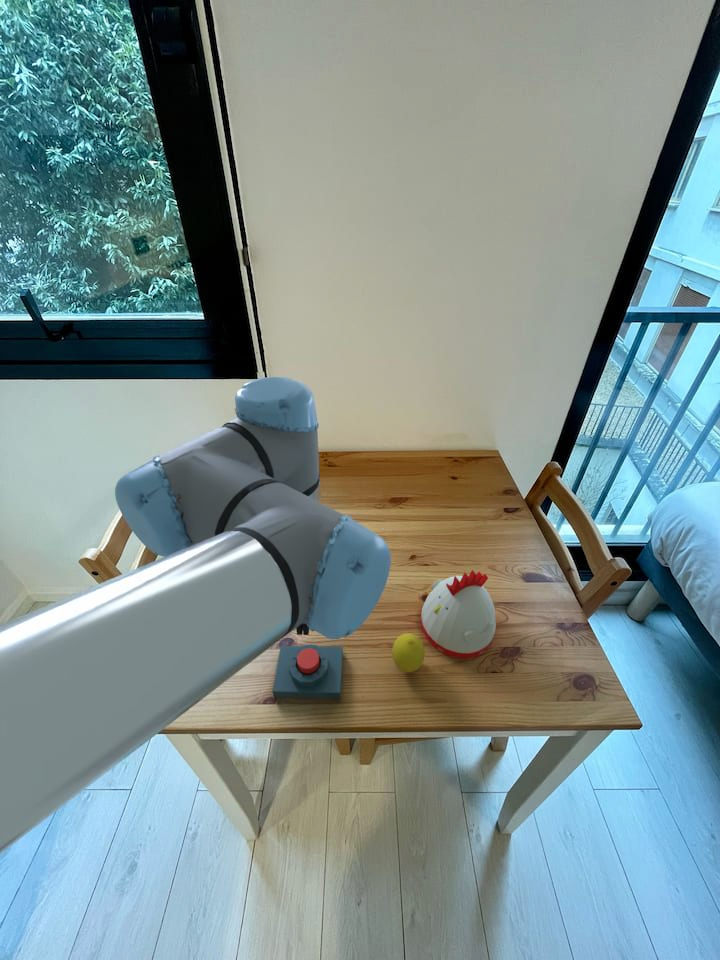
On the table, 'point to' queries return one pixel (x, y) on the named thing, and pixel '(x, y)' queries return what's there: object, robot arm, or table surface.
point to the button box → (309, 685)
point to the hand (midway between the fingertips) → (304, 626)
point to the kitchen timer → (459, 616)
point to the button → (308, 661)
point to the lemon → (408, 652)
